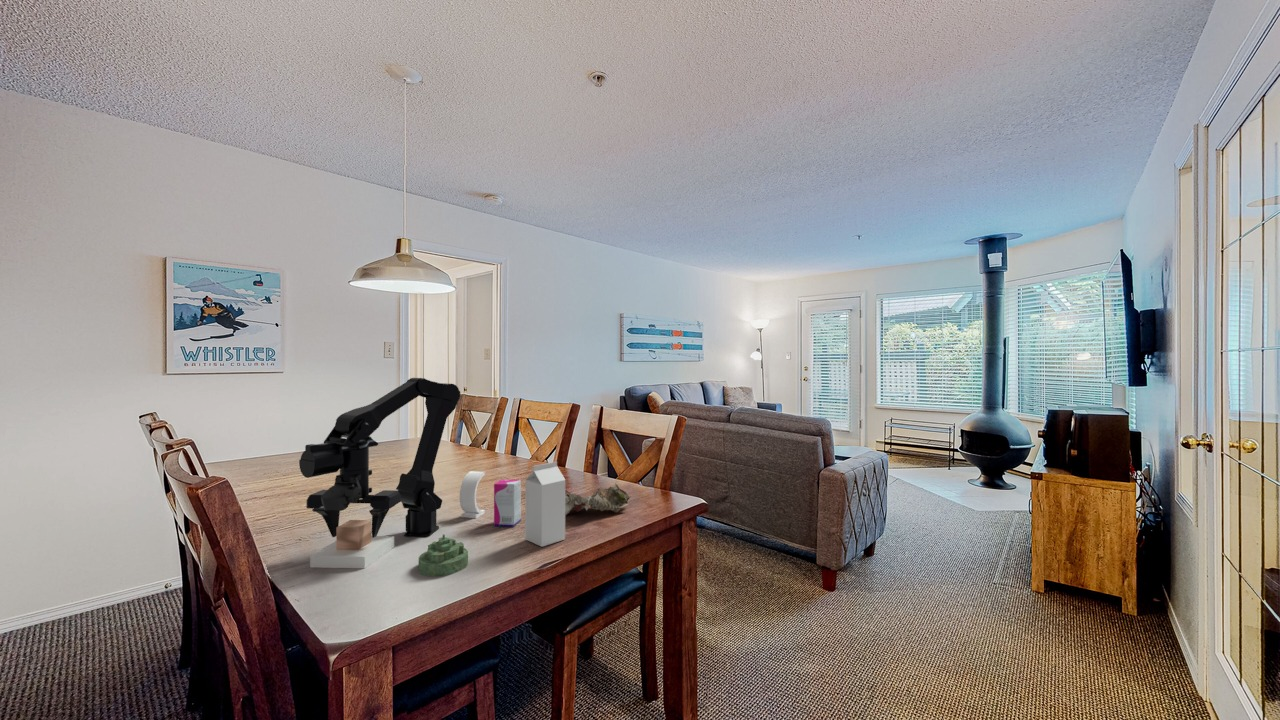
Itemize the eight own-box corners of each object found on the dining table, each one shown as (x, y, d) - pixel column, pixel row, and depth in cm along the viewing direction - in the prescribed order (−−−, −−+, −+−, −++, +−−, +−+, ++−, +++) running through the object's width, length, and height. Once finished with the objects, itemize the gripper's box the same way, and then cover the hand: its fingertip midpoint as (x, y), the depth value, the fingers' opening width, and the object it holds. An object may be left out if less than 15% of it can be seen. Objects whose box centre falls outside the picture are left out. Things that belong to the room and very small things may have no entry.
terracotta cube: (371, 541, 115) (371, 520, 115) (358, 550, 110) (358, 527, 110) (350, 541, 115) (350, 520, 115) (336, 549, 110) (336, 527, 110)
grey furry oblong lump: (605, 497, 160) (605, 473, 160) (638, 508, 149) (638, 482, 149) (539, 514, 143) (539, 488, 143) (570, 528, 132) (570, 500, 132)
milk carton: (565, 539, 123) (565, 463, 123) (541, 547, 118) (542, 468, 118) (548, 532, 128) (548, 459, 128) (524, 540, 123) (525, 463, 123)
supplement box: (521, 520, 138) (521, 479, 138) (514, 527, 132) (514, 484, 132) (501, 519, 139) (501, 478, 139) (493, 526, 133) (493, 483, 133)
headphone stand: (485, 512, 144) (485, 471, 144) (474, 519, 139) (474, 476, 138) (470, 511, 145) (470, 471, 145) (459, 518, 139) (459, 475, 139)
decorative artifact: (452, 553, 115) (409, 568, 107) (452, 523, 115) (409, 535, 107) (476, 565, 108) (433, 581, 101) (477, 533, 108) (433, 547, 101)
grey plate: (394, 546, 118) (394, 536, 118) (364, 568, 106) (364, 556, 106) (344, 546, 119) (344, 535, 119) (310, 567, 107) (310, 555, 107)
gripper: (287, 476, 105) (288, 550, 105) (374, 477, 104) (374, 551, 104) (323, 465, 116) (323, 531, 116) (401, 465, 115) (401, 532, 115)
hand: (354, 536), depth 112 cm, fingers open, 9 cm apart
